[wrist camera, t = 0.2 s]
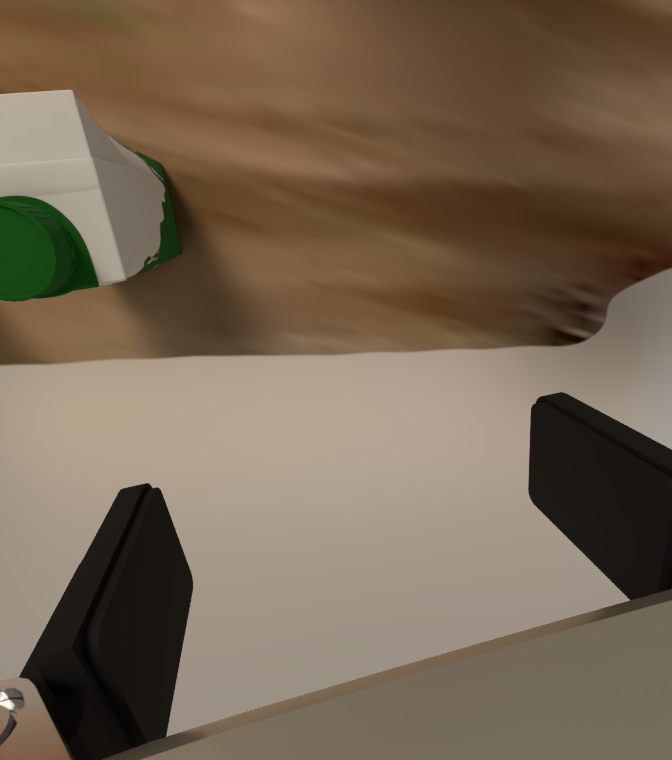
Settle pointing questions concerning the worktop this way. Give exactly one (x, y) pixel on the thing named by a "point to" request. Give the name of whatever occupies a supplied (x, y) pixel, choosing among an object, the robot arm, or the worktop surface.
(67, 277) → the milk carton
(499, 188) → the worktop surface
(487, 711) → the robot arm
